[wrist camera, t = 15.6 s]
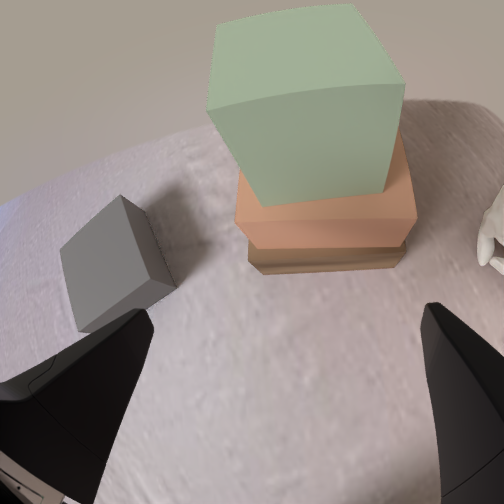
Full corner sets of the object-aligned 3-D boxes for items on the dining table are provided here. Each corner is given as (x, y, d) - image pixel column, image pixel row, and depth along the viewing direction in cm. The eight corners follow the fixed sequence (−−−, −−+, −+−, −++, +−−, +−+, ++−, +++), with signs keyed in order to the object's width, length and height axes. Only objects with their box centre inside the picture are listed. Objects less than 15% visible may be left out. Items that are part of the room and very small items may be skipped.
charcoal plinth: (176, 288, 24) (150, 278, 20) (107, 335, 25) (78, 332, 21) (144, 211, 28) (120, 194, 24) (85, 260, 28) (59, 249, 25)
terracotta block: (399, 247, 16) (417, 218, 12) (257, 249, 19) (234, 222, 15) (381, 131, 19) (386, 87, 15) (264, 136, 21) (247, 96, 17)
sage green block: (382, 192, 13) (405, 83, 6) (262, 207, 14) (206, 110, 8) (356, 105, 15) (352, 3, 8) (257, 118, 16) (216, 25, 10)
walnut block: (393, 268, 20) (406, 251, 16) (264, 275, 23) (248, 260, 19) (375, 157, 23) (379, 124, 19) (265, 166, 26) (251, 136, 22)
